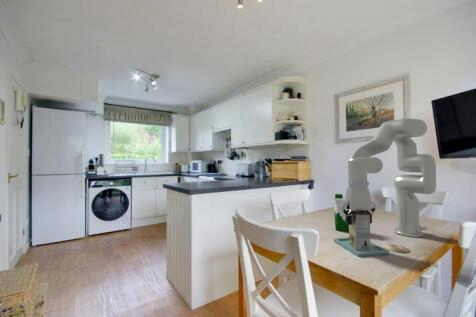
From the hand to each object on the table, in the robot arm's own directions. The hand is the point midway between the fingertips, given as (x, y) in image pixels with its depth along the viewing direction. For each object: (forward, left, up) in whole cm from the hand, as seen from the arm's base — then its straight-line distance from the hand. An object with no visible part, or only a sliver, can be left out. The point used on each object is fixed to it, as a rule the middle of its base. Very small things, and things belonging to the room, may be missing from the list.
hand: (359, 223), depth 101 cm
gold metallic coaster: (-16, +3, -11) cm, 19 cm away
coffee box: (0, 0, -11) cm, 11 cm away
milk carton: (-10, -27, -11) cm, 31 cm away
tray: (-1, -1, -11) cm, 11 cm away
